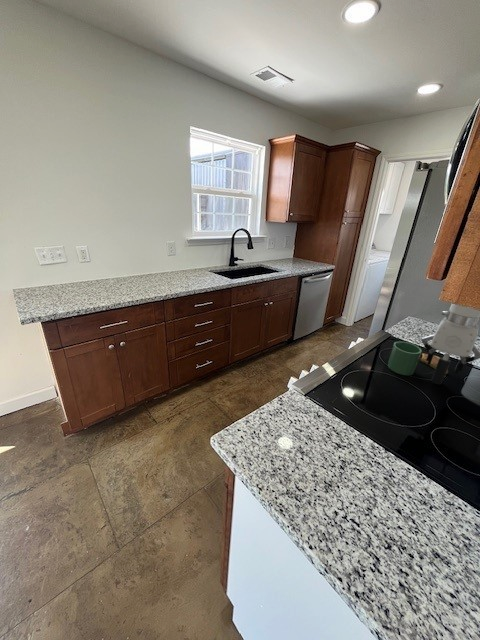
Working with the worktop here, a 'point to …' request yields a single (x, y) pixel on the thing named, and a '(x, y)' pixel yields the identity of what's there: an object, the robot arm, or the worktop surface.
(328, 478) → the worktop surface
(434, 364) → the shard
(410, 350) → the green cup
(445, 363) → the dark bottle
